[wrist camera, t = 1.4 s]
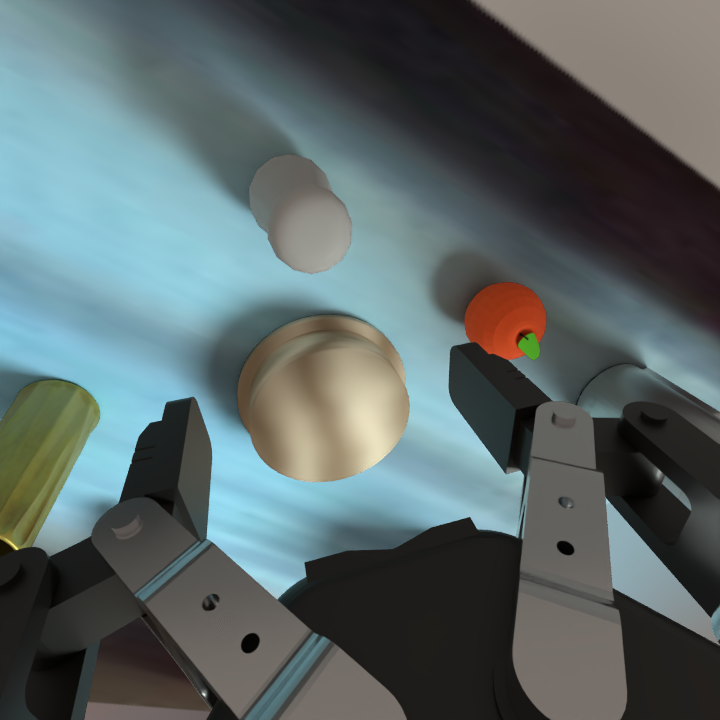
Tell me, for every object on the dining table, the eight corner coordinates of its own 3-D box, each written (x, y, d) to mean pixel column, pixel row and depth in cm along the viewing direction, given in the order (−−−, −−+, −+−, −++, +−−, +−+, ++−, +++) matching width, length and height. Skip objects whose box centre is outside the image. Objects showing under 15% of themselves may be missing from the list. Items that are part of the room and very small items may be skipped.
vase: (11, 374, 33) (-120, 522, 21) (101, 382, 35) (28, 521, 23) (18, 436, 35) (-95, 599, 24) (101, 440, 38) (35, 591, 26)
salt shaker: (338, 215, 33) (386, 265, 22) (271, 246, 33) (287, 311, 22) (307, 137, 30) (345, 150, 19) (233, 171, 30) (229, 203, 19)
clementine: (533, 313, 42) (582, 345, 36) (478, 357, 43) (517, 396, 37) (497, 256, 38) (545, 282, 32) (438, 306, 39) (473, 341, 33)
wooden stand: (397, 298, 38) (417, 321, 34) (405, 433, 46) (422, 465, 42) (216, 334, 35) (213, 363, 31) (259, 470, 44) (261, 507, 39)
